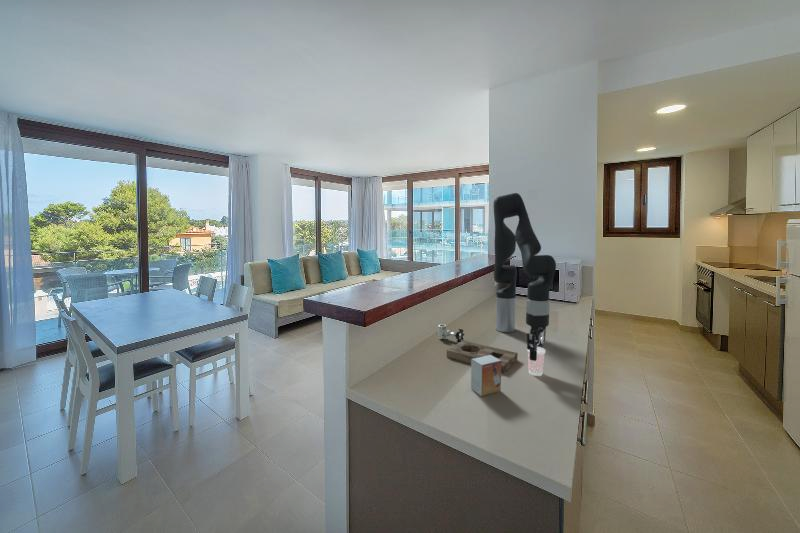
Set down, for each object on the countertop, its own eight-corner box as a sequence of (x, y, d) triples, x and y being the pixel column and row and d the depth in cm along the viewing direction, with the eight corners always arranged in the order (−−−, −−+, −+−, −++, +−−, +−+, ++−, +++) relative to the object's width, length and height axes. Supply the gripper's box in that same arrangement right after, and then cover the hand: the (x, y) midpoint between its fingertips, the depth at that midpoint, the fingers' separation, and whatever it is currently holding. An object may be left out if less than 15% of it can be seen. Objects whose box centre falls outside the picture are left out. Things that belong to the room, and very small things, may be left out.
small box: (481, 397, 100) (481, 365, 99) (470, 388, 105) (470, 358, 104) (501, 391, 103) (501, 360, 102) (489, 383, 108) (490, 354, 107)
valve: (434, 339, 151) (457, 345, 144) (434, 326, 150) (457, 331, 143) (442, 335, 156) (464, 340, 149) (442, 322, 155) (464, 327, 148)
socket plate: (463, 346, 142) (463, 340, 141) (517, 360, 126) (517, 353, 126) (446, 356, 131) (446, 349, 130) (503, 373, 116) (503, 365, 115)
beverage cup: (527, 368, 119) (528, 332, 118) (545, 371, 116) (546, 334, 115) (525, 374, 114) (526, 337, 112) (544, 378, 111) (545, 339, 109)
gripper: (533, 305, 120) (531, 348, 122) (519, 314, 109) (518, 361, 111) (554, 308, 115) (552, 353, 117) (542, 318, 104) (540, 366, 107)
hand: (536, 356), depth 114 cm, fingers closed on beverage cup, 6 cm apart
